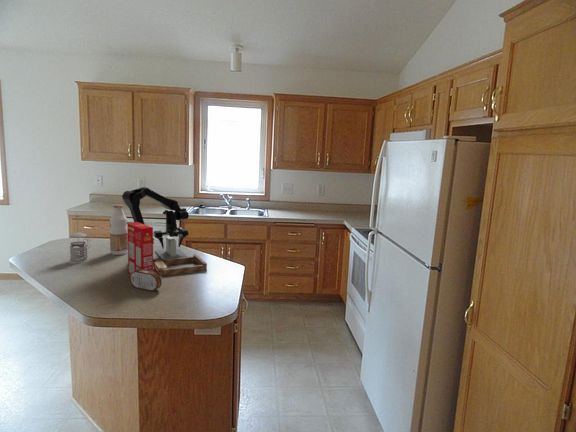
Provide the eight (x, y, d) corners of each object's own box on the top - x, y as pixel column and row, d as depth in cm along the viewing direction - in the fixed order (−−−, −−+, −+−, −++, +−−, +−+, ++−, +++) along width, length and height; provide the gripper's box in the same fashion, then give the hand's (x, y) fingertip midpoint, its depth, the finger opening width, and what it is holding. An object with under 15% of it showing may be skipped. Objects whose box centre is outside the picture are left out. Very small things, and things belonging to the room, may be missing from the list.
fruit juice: (108, 255, 212) (107, 206, 207) (112, 251, 221) (111, 203, 216) (126, 255, 214) (125, 206, 209) (129, 250, 223) (128, 204, 218)
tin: (162, 290, 165) (162, 272, 163) (157, 293, 162) (157, 274, 161) (134, 285, 170) (133, 267, 168) (129, 287, 167) (128, 269, 165)
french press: (63, 261, 197) (61, 214, 193) (83, 256, 208) (81, 211, 203) (77, 264, 193) (75, 216, 189) (96, 259, 204) (94, 213, 200)
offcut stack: (158, 275, 184) (158, 268, 184) (154, 267, 196) (154, 261, 195) (167, 274, 186) (167, 267, 186) (162, 267, 198) (162, 260, 197)
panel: (171, 256, 213) (171, 241, 211) (166, 251, 223) (166, 236, 221) (176, 256, 214) (176, 240, 213) (171, 250, 224) (171, 236, 223)
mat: (162, 260, 208) (162, 259, 208) (155, 252, 223) (155, 250, 223) (187, 257, 215) (187, 256, 215) (179, 250, 230) (179, 248, 230)
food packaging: (153, 279, 178) (152, 227, 174) (142, 281, 175) (141, 228, 170) (138, 271, 188) (138, 222, 184) (128, 273, 184) (127, 223, 180)
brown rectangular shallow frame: (163, 276, 183) (163, 268, 183) (155, 265, 198) (155, 258, 198) (206, 270, 194) (206, 263, 193) (196, 261, 209) (196, 254, 209)
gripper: (157, 225, 204) (157, 252, 207) (191, 223, 213) (191, 249, 216) (153, 221, 213) (153, 248, 216) (185, 219, 223) (185, 245, 225)
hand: (171, 247), depth 218 cm, fingers open, 9 cm apart
